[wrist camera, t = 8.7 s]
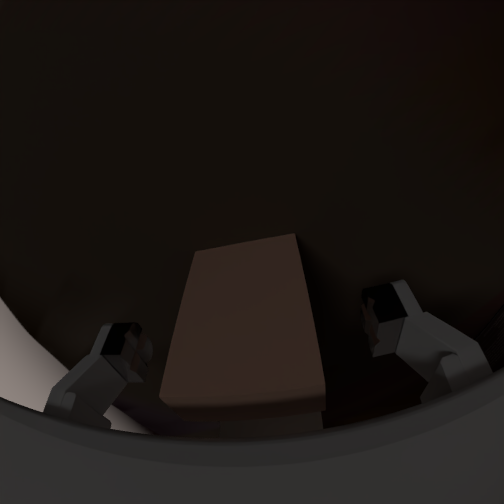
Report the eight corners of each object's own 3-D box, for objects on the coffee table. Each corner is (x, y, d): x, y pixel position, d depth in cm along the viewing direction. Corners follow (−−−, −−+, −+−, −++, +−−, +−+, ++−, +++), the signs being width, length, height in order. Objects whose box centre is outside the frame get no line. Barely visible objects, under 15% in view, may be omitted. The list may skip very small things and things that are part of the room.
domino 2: (227, 330, 15) (218, 450, 10) (306, 318, 15) (324, 441, 9) (235, 348, 16) (230, 459, 11) (308, 338, 16) (324, 450, 10)
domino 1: (195, 251, 12) (159, 396, 7) (294, 233, 12) (325, 383, 6) (207, 282, 13) (184, 421, 8) (300, 266, 13) (325, 410, 7)
